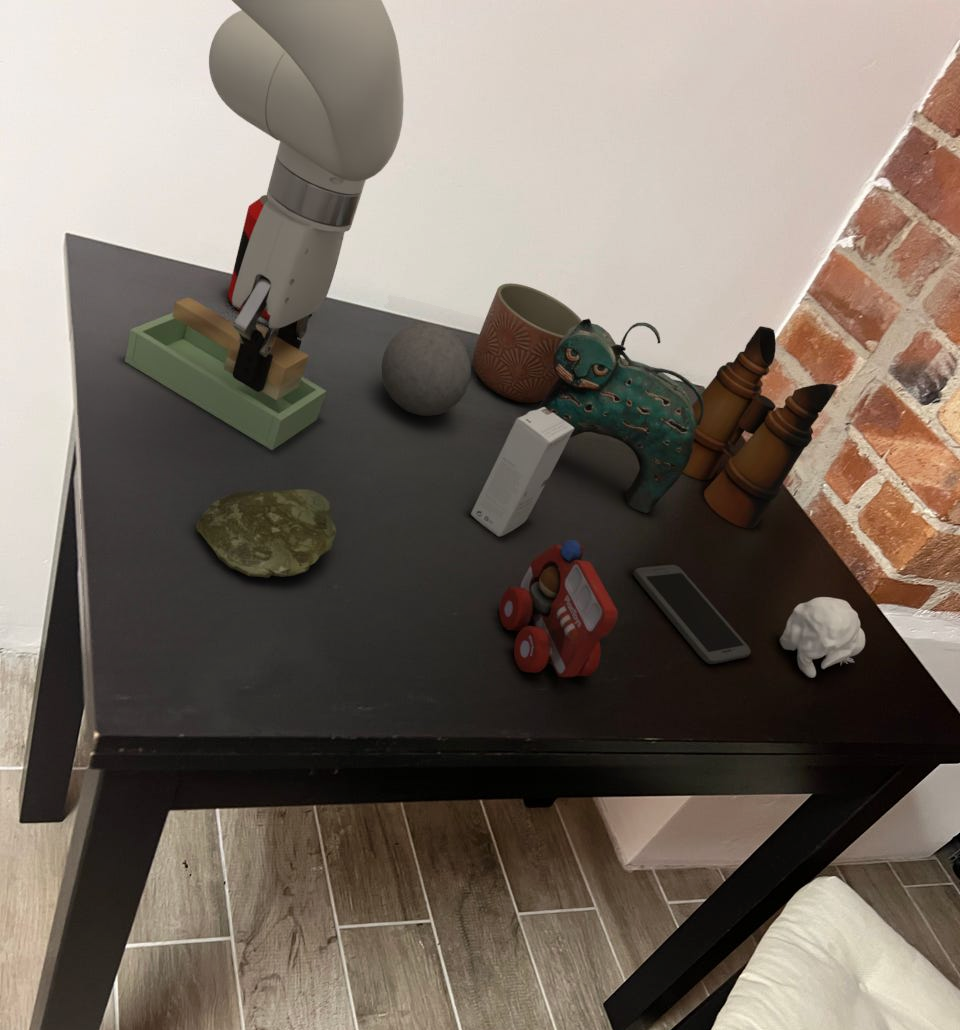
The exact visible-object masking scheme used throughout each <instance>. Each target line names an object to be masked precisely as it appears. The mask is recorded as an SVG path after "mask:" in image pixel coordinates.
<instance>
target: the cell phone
mask: <svg viewBox="0 0 960 1030" xmlns="http://www.w3.org/2000/svg"><path fill="white" fill-rule="evenodd" d="M632 575H633V577H634V578H635V580H636V581H637V582H638V584H639V585H640V586H641V587H642V588H643V590H644V591H645V592H646V594H648V596H649V597H650V598H651V600H652V601H653V602H654V603H655V604H656V605H657V607H658V608H659V609H660V610H661V611H662V613H663V614H664V615H665V616H666V617H667V619H668V621H670V622H671V623H672V625H673V626H674V627H675V628H676V629H677V631H678V632H679V633H680V635H681V636H682V637H683V638H684V639H685V640H686V642H687V643H688V644H689V645H690V647H691V648H692V649H693V650H694V652H695V653H696V654H697V655H698V656H699V657H700V659H701V660H702V661H703V662H704V663H706V664H708V665H716V664H721V663H726V662H731V661H736V660H741V659H746V658H747V657H749V656H750V655H751V653H752V652H751V648H750V646H749V645H748V644H747V643H746V642H745V641H744V639H743V638H742V637H741V636H740V635H739V634H738V633H737V632H736V630H735V629H734V628H733V627H732V626H731V624H729V622H728V621H727V619H725V618H724V616H723V615H722V614H721V612H719V611H718V609H717V608H716V607H715V606H714V605H713V604H712V602H711V601H710V600H709V599H708V598H707V596H706V595H705V594H703V592H702V591H701V590H700V589H699V588H698V586H697V585H696V584H695V583H694V582H693V581H692V580H691V578H690V577H689V576H688V575H687V573H686V572H685V571H684V570H683V569H682V568H681V567H680V566H678V565H676V564H664V565H662V564H661V565H652V566H643V567H638V568H635V569H634V571H633V573H632Z"/></svg>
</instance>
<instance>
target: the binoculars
mask: <svg viewBox="0 0 960 1030" xmlns="http://www.w3.org/2000/svg"><path fill="white" fill-rule="evenodd" d="M776 347H777V344H776V333H775V330H774V329H773V328H771V327H768V326H762V325H760V326H758V328H757V329H756V330H755V331H754V333H753V334H752V336H751V337H750V339H749V341H748V342H747V343H746V344H745V348H744V351H740V352H738V354H737V355H736V357H735V359H734V360H733V361H727V362H726V363H725V365H724V364H723V365H721V366H720V367H719V368H718V370H717V371H716V375H715V376H714V378H713V379H712V380H711V381H710V382H709V384H708V385H707V387H706V388H705V389H704V390H703V391H702V393H701V395H702V398H703V403H704V412H703V417H702V421H701V423H700V425H696V431H695V435H694V441H693V451H692V455H691V458H690V460H689V463H688V464H687V466H686V468H685V469H684V471H683V472H682V473H683V474H685V475H687V476H689V477H692V478H694V479H697V480H703V481H708V480H711V479H712V478H713V477H714V475H715V473H716V471H717V470H718V469H719V466H720V464H721V462H722V460H723V458H724V456H727V457H728V460H727V462H726V463H725V465H724V468H723V470H721V472H720V473H719V474H718V475H717V476H716V477H715V478H714V480H713V481H712V482H711V483H709V485H708V486H707V487H706V488H705V489H704V491H703V497H704V500H705V501H706V503H707V504H708V505H709V507H710V508H711V509H712V510H713V511H714V512H715V513H716V514H718V516H720V517H721V518H723V519H724V520H726V521H728V522H729V523H731V524H733V525H735V526H738V527H741V528H744V529H754V528H756V527H757V526H758V524H759V523H760V521H761V519H762V518H763V516H764V514H765V513H766V511H767V509H768V507H769V506H770V503H771V502H772V500H775V499H776V497H777V496H778V495H779V493H780V492H781V487H782V485H783V483H784V482H785V480H786V478H787V477H788V475H789V474H790V472H791V471H792V469H793V468H794V466H795V464H796V463H797V461H798V460H799V457H800V456H801V454H802V453H803V451H804V450H805V448H807V447H808V446H809V445H810V444H811V442H812V440H813V436H812V435H813V434H814V429H813V428H812V426H813V424H815V422H816V421H817V420H818V418H819V417H820V416H819V415H820V414H819V413H822V411H824V408H825V407H826V405H827V404H828V403H829V402H830V400H831V399H832V397H833V395H834V393H835V392H836V390H837V388H838V385H837V384H832V383H817V384H812V385H807V386H804V387H800V388H797V389H794V391H793V394H792V395H788V396H787V397H786V398H785V400H784V403H785V405H784V406H783V407H776V403H774V402H773V400H771V399H770V398H769V397H767V396H766V395H763V394H762V392H763V389H762V387H763V385H764V383H763V381H762V378H763V377H764V376H767V375H768V374H769V373H770V368H769V367H771V366H772V364H773V362H774V360H775V357H776ZM692 407H693V411H694V416H695V419H697V420H698V419H699V417H700V412H701V409H700V404H699V400H698V398H697V399H696V401H695V402H694V403H693V404H692ZM744 432H746V433H748V434H751V435H750V437H749V438H748V439H747V441H745V443H744V444H743V445H742V447H741V448H740V449H739V450H738V452H736V453H735V454H734V452H733V451H732V450H730V449H731V447H734V448H735V447H736V446H737V442H738V441H739V440H740V438H741V436H742V435H743V434H744Z"/></svg>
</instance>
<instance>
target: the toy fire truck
mask: <svg viewBox="0 0 960 1030" xmlns="http://www.w3.org/2000/svg"><path fill="white" fill-rule="evenodd" d="M584 554H585V547H584V545H583V543H582V542H581V541H579V540H577V539H568V540H566V541H565V542H563V544H562V545H560V544H553V545H551V546H549V548H547V549H546V550H544V551H543V552H542V553H540V554H539V555H538V556H535V558H533V559H532V560H531V562H530V564H529V566H528V568H527V569H526V570H525V571H526V572H525V573H524V575H523V576H522V579H521V580H520V583H519V586H511V587H508V588H507V589H506V590H505V591H504V593H503V594H502V596H501V598H500V602H499V610H498V611H499V620H500V622H501V625H502V626H503V627H504V629H506V630H508V631H514V632H518V634H517V635H516V637H515V641H514V647H513V655H514V660H515V663H516V666H517V667H518V668H519V669H520V670H521V672H525V673H532V674H533V673H539V672H541V671H543V670H544V669H545V668H546V666H547V664H549V665H551V666H552V667H553V669H554V671H555V673H556V675H557V676H558V677H560V678H574V677H589V676H591V675H593V674H594V673H595V672H596V671H597V669H598V667H599V664H600V661H601V655H602V652H601V651H602V649H601V644H600V640H601V639H602V637H605V636H607V635H609V634H610V632H611V631H612V629H613V628H614V626H615V625H616V623H617V620H618V616H619V613H618V609H617V607H616V606H615V604H614V602H613V600H612V599H611V596H610V595H609V593H608V591H607V589H606V587H605V585H604V583H603V582H602V580H601V578H600V576H599V575H598V573H597V571H596V569H595V567H594V565H593V564H592V563H591V562H590V561H587V560H582V559H583V558H584ZM529 624H532V625H529Z"/></svg>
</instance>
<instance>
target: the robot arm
mask: <svg viewBox="0 0 960 1030" xmlns="http://www.w3.org/2000/svg"><path fill="white" fill-rule="evenodd" d="M231 1H232V2H233V3H234V4H235V5H236V6H237V7H238V8H239V9H240V10H239V11H237V12H234V13H233V14H232V15H230V16H228V17H227V18H226V19H225V20H224V21H223V23H221V24H220V25H219V27H218V29H217V31H216V32H215V34H214V35H213V39H212V41H211V44H210V47H209V53H208V69H209V76H210V80H211V82H212V85H213V87H214V89H215V92H216V93H217V95H218V96H219V98H220V99H221V101H222V102H223V103H224V104H225V105H226V106H227V107H228V108H229V109H230V110H231V111H232V112H233V113H235V114H236V115H237V116H238V117H240V118H241V119H243V120H244V121H245V122H247V123H249V124H250V125H252V126H254V128H255V127H256V129H259V130H260V131H262V132H263V133H265V135H268V136H269V137H271V138H273V139H274V140H276V141H279V144H278V147H277V152H276V156H275V159H274V163H273V167H272V171H271V175H270V178H269V182H268V188H267V191H266V195H267V197H268V201H267V202H265V204H264V206H263V208H262V210H261V213H260V215H259V217H258V220H257V222H256V224H255V227H254V229H253V232H252V235H251V237H250V240H249V243H248V246H247V249H246V252H245V255H244V258H243V261H242V265H241V268H240V271H239V275H238V278H237V281H236V285H235V289H234V292H233V297H232V303H231V305H232V304H233V305H232V306H233V307H234V308H235V307H236V308H242V310H241V312H240V311H239V313H238V315H237V317H236V319H235V320H234V322H233V324H234V328H235V329H236V331H237V332H238V333H239V335H240V338H239V342H240V347H239V351H238V355H237V359H236V362H235V366H234V370H233V377H234V378H235V379H237V380H238V381H240V382H242V383H243V384H245V385H247V386H248V387H250V388H252V389H253V390H255V391H257V392H260V391H262V390H263V389H264V386H265V383H266V379H267V376H268V372H269V369H270V365H271V362H272V359H273V355H271V354H270V351H271V349H272V346H273V344H274V341H275V339H276V336H277V337H278V338H280V339H282V340H283V341H285V342H287V343H288V344H290V345H292V346H293V347H295V348H297V349H299V350H300V347H301V344H302V340H301V339H303V338H304V337H305V335H306V332H307V329H308V323H309V320H310V318H312V317H313V314H314V313H316V312H317V311H318V310H319V309H321V307H322V306H323V305H324V303H325V301H326V298H327V297H328V294H329V291H330V288H331V285H332V282H333V279H334V276H335V272H336V268H337V265H338V261H339V257H340V253H341V249H342V246H343V241H344V238H345V233H346V232H349V231H350V230H351V228H352V224H353V222H354V219H355V215H356V213H357V209H358V207H359V204H360V201H361V197H362V194H363V190H364V187H365V184H366V180H369V179H371V178H373V177H375V176H376V175H378V174H379V173H380V172H381V171H382V170H383V169H384V168H385V167H386V166H387V164H388V163H389V161H390V160H391V159H392V157H393V155H394V153H395V151H396V148H397V146H398V143H399V140H400V136H401V131H402V128H403V127H402V126H403V121H404V120H403V119H404V86H403V75H402V67H401V66H402V65H401V57H400V50H399V45H398V40H397V36H396V32H395V30H394V26H393V24H392V20H391V18H390V15H389V13H388V11H387V9H386V7H385V4H384V3H383V0H231ZM236 308H235V309H236ZM263 310H265V311H266V312H267V313H268V315H270V318H268V317H266V316H265V315H263V314H262V312H263ZM257 323H258V324H260V325H262V326H263V327H265V328H266V330H267V333H266V335H265V338H264V337H263V335H262V333H261V332H260V331H259V330H257V328H256V325H258V324H257Z"/></svg>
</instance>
